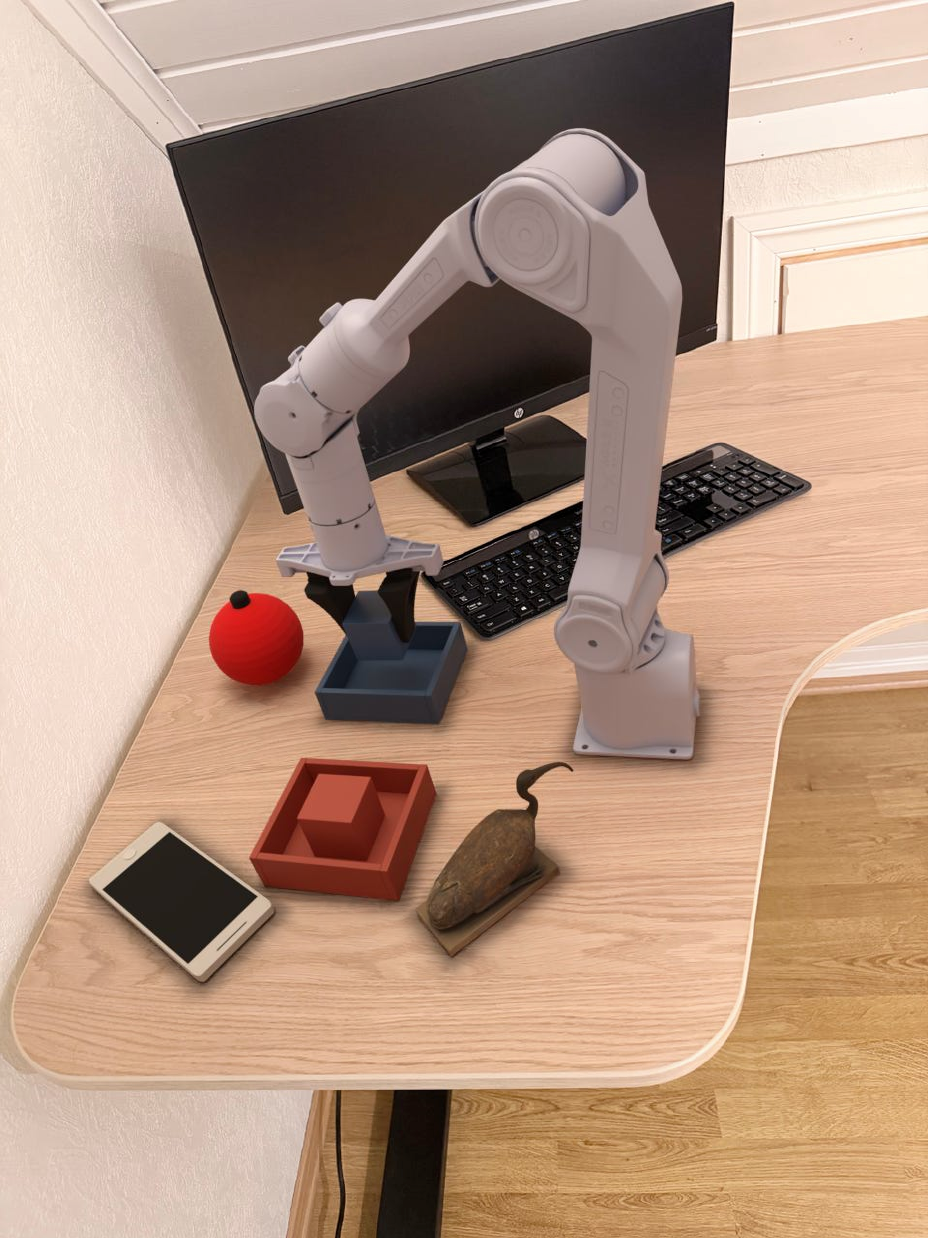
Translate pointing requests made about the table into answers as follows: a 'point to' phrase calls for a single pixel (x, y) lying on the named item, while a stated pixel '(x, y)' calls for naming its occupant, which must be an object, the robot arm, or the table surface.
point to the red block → (341, 816)
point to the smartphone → (182, 899)
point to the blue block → (373, 629)
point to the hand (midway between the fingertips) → (382, 635)
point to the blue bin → (396, 679)
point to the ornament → (256, 638)
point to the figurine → (489, 871)
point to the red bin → (382, 876)
